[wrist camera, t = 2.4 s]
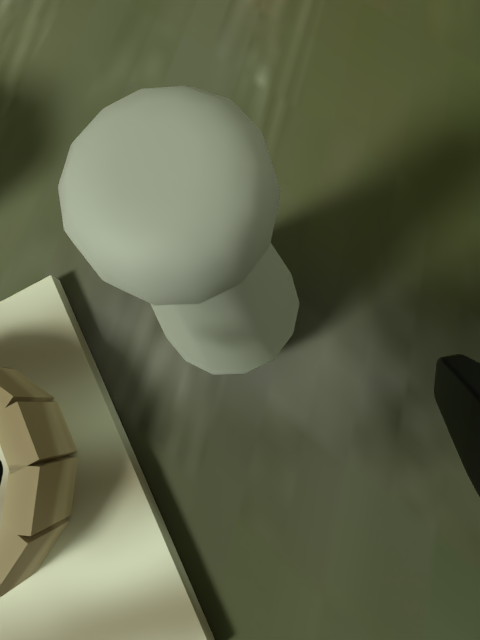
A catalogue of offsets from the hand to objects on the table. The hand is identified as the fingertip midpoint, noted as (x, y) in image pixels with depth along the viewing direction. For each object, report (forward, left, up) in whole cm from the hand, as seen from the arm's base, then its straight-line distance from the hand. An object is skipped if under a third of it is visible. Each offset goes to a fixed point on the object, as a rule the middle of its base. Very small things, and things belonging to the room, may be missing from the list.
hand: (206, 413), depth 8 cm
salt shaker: (+4, -1, -11) cm, 12 cm away
